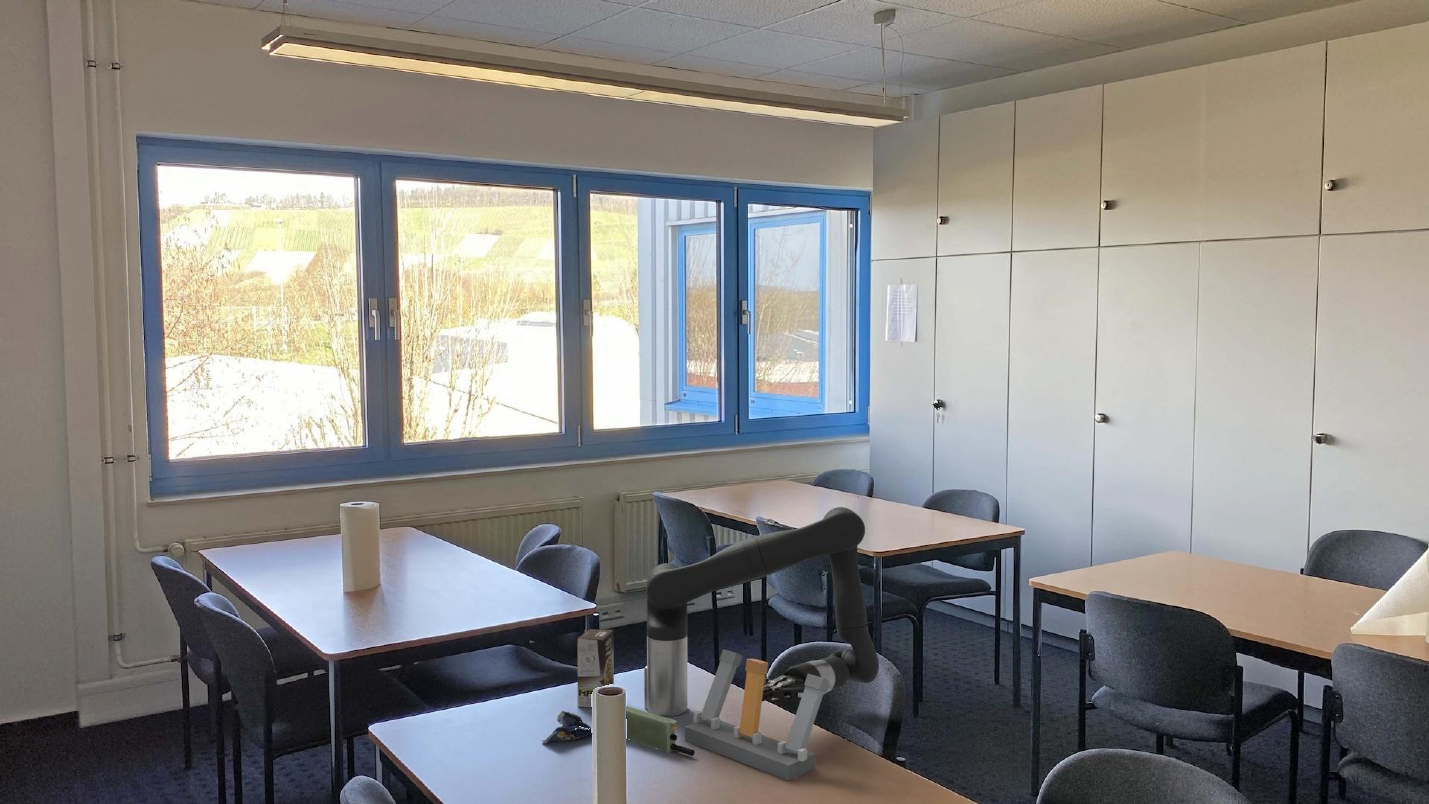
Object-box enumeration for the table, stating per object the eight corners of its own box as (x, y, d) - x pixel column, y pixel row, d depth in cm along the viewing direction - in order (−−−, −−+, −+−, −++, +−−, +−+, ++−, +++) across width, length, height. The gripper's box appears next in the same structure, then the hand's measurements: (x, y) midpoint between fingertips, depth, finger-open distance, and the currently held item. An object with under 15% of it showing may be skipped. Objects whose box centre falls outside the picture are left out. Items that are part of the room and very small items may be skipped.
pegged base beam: (682, 739, 223) (682, 716, 223) (709, 730, 229) (709, 707, 229) (790, 781, 202) (790, 756, 202) (817, 769, 208) (817, 744, 207)
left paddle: (698, 716, 225) (723, 649, 229) (704, 719, 226) (729, 652, 231) (711, 721, 222) (736, 652, 227) (718, 724, 223) (742, 656, 228)
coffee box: (603, 709, 242) (602, 639, 241) (576, 707, 244) (576, 638, 243) (615, 696, 251) (614, 629, 250) (589, 694, 253) (588, 627, 252)
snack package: (541, 731, 230) (541, 749, 218) (545, 702, 230) (546, 719, 218) (595, 737, 232) (598, 755, 220) (600, 708, 232) (603, 725, 220)
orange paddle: (737, 732, 216) (746, 659, 217) (744, 731, 218) (753, 658, 219) (751, 737, 213) (761, 663, 214) (759, 737, 215) (768, 662, 216)
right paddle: (783, 746, 208) (807, 673, 212) (789, 749, 209) (814, 676, 214) (798, 752, 205) (823, 678, 210) (804, 755, 206) (829, 681, 211)
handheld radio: (611, 728, 231) (698, 756, 215) (600, 733, 228) (688, 762, 212) (610, 698, 230) (697, 724, 214) (599, 703, 228) (687, 730, 212)
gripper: (786, 656, 233) (732, 671, 221) (834, 669, 224) (780, 685, 212) (786, 690, 234) (732, 707, 221) (833, 704, 224) (779, 722, 212)
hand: (755, 696), depth 217 cm, fingers closed
